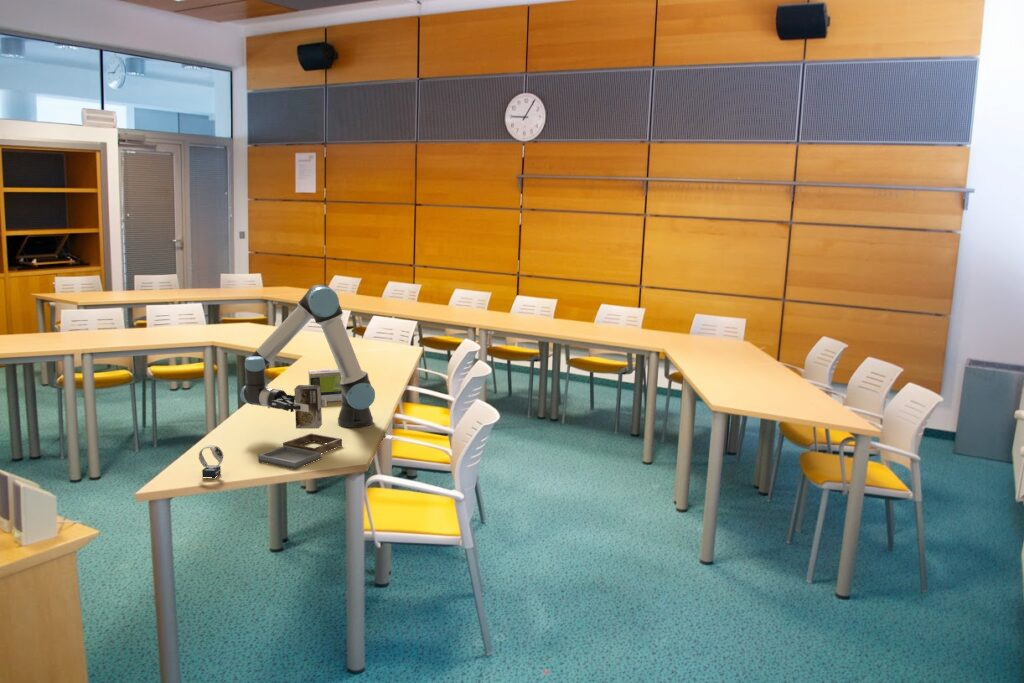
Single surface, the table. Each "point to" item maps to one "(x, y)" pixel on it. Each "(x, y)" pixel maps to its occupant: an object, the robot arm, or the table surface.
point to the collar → (330, 441)
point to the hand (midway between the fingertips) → (316, 405)
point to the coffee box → (313, 400)
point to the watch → (211, 469)
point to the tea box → (327, 383)
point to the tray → (289, 457)
